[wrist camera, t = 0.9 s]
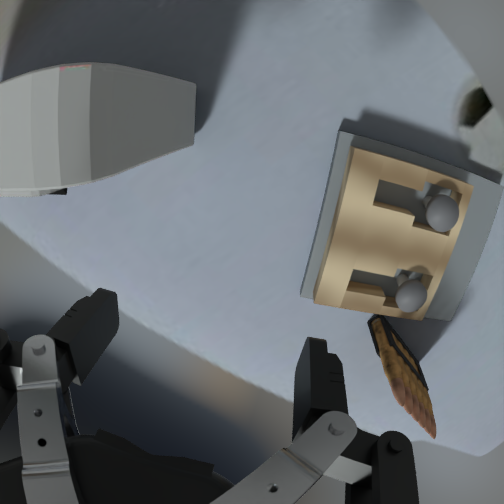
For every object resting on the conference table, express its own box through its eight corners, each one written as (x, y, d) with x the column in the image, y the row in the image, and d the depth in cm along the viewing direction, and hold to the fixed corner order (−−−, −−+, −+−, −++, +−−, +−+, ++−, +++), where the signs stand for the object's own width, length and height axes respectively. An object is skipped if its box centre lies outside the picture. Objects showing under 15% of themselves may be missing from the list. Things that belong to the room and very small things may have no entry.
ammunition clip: (419, 362, 34) (444, 437, 24) (407, 369, 35) (429, 445, 24) (380, 312, 32) (408, 396, 21) (366, 321, 33) (388, 406, 22)
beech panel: (350, 145, 24) (354, 148, 22) (463, 180, 24) (474, 186, 22) (312, 291, 30) (313, 303, 28) (416, 309, 30) (422, 320, 28)
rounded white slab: (-1, 170, 30) (-107, 219, 14) (-3, 114, 27) (-116, 144, 11) (201, 168, 28) (87, 247, 12) (204, 85, 25) (79, 56, 9)
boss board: (338, 130, 25) (347, 133, 21) (497, 183, 24) (524, 196, 20) (300, 290, 32) (300, 318, 28) (446, 315, 31) (461, 341, 27)
